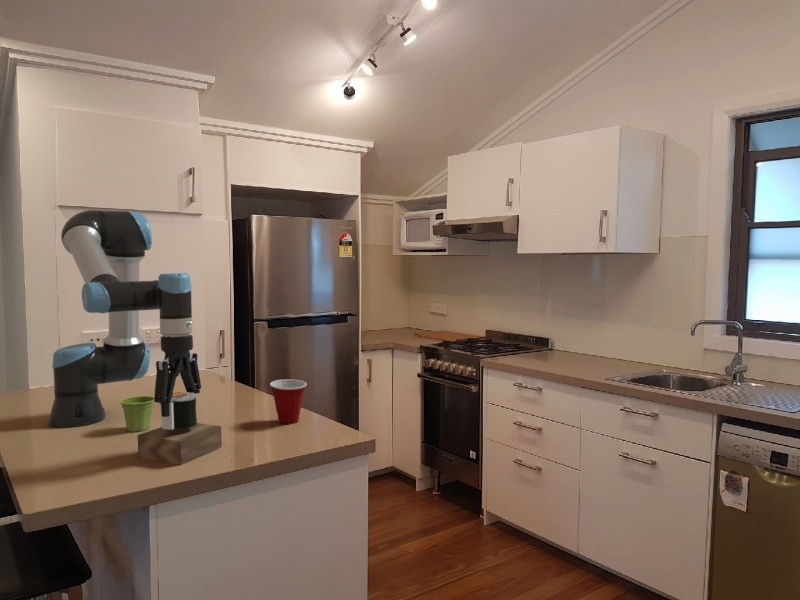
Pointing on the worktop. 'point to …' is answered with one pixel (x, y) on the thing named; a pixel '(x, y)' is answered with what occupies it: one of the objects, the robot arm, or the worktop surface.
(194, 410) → the sushi
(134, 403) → the plant pot
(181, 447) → the walnut block
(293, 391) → the plastic cup
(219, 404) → the worktop surface
